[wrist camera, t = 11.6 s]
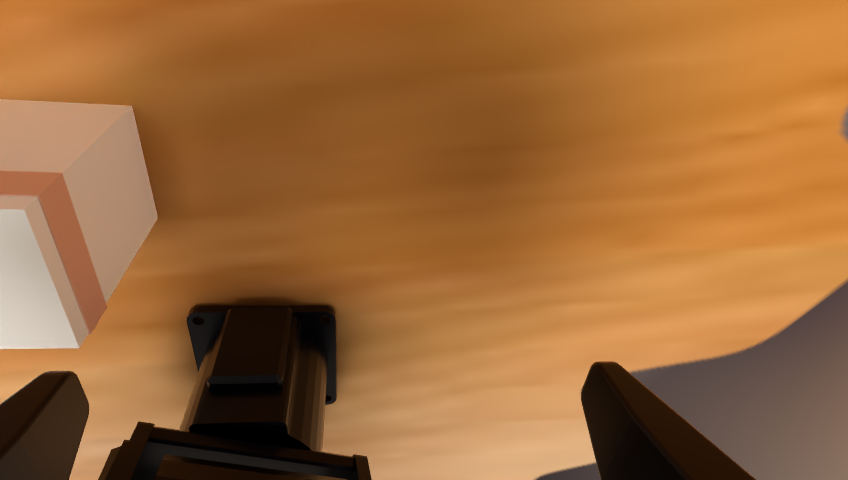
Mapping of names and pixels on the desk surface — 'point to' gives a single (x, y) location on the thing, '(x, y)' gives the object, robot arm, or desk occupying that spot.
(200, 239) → the desk surface
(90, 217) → the light grey boxy piece
